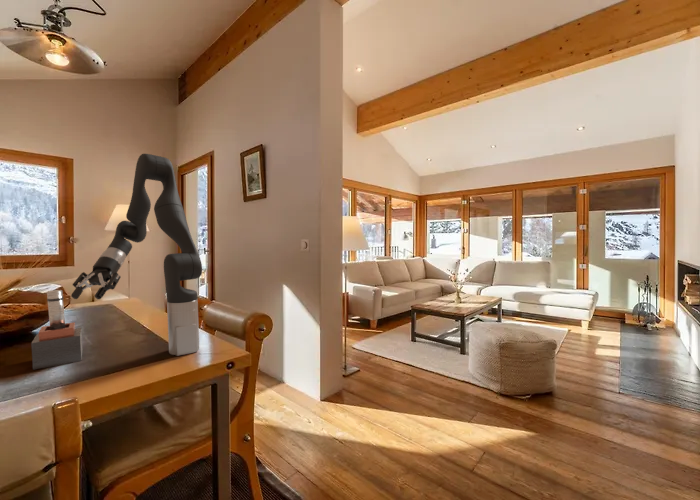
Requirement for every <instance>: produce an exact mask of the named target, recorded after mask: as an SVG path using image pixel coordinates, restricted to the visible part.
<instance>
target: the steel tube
mask: <svg viewBox="0 0 700 500" xmlns="http://www.w3.org/2000/svg"><path fill="white" fill-rule="evenodd" d="M63 293H64V292H63V289H56V290H55V289H53V290H48V291H46V295H47V298H46V300H47V301H46V302H47V309H48V318H49V319H48V321H49V326H50V330H54V329H62V328H65V324H66V318H65V306H64V305H65V304H64V295H63Z"/></svg>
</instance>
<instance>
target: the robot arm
mask: <svg viewBox="0 0 700 500" xmlns="http://www.w3.org/2000/svg"><path fill="white" fill-rule="evenodd" d="M175 175H176V174H175V171H174V166H173V163H172V161H171V160H170V159H169V158H167V157H164V156H160V155H154V154H151V153H141V154H140V155H139V156H138V159H137V161H136V166H135V170H134V177H133V178H134V179H133V186H132V194H131V198H130V199H131V200H130V202H129V205H128V208H127V212H126V216H125V218H126V219H127V220H122V221H120V222H118V224H117V226H116V229H115V234H114V236H113V239H112V241H111V242H110V244H109V245H108V246H107V248H106V249H105V250H104V251H103V252H102V254H101V255H100V256H99V257H98V259H97V260H96V262H94V264H93V266H92V271H91V272H89V273H86V272H84V271H83V272H81V273H80V275H79V276H78V277H77V278H76V279H75V281H74V282H73V283H72V286H73V287H74V290H73V292H72V293H71V296H70V297H71V298H72V299H74V300H78V299H79V298H80V297H81V295H82V294H83V292H84V291H85V290H86V289H88V288H91V287H93V286H101V287H99V288H98V290H97V291H96V293H95V294H94V298H96V300H101V299H102V298H103V297H104V295H106V292H107V291H109V290H112V291H113V290H115V288H116V287H117V285H118V283H119V281H120V279H121V275H120V274H119V273H118V272H119V270H120V269H121V267H122V265H123V264H124V263H125V260H126V258H127V257H128V256H129V254H130V252H131V251H132V249H133V244H132V243H131V242H134V243H142V242H143V241H144V240H145V239H146V237H147V232H148V231H147V221H148V216H149V214H150V211H151V208H152V207H151V206H152V204H151V203H152V202H151V199H150V197H149V194H148V192H147V190H146V186H145V185H146V181H147V180H149V181H157V182H161V184H162V187H163V189H162V191H161V194H160V195H159V197H157V199H156V202H155V204H154V205H153V206H154V208H153V211H154V215H155V219H156V222H157V225H158V227H159V229H160V230H161V231H163V232H164V234H165V235H167V237H169V238H170V239H171V240H173V241H174V242H175V244H176V245H177V246H178V247H179V249H180V251H181V252H178V253H169V254H166V256H165V257H164V260H163V274H164V285H165V294H166V305H167V306H166V307H167V309H166V310H167V311H166V312H167V314H166V315H167V335H168V337H167V338H168V353H169V354H170V355H172V356H174V355H175V356H177V357H178V356H184V355H188V354H192V353H197V352H198V350H200V334H199V333H200V332H199V331H200V330H199V327H200V326H199V303H198V302H199V299H198V293H197V290H194V289H189V288H186V287H183V286H181V281H182V282H183V281H189V280H196V279H199V278H200V277H201V276H202V273H203V263H202V261H201V257H200V254H199V251H198V250H197V247H196V245H195V242H194V239H193V238H192V235H191V232H190V228H189V225H188V222H187V216H186V213H185V210H184V206H183V204H182V201H181V198H180V194H179V191H178V186H177V181H176V176H175ZM88 282H89V283H88Z"/></svg>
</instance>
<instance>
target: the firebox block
mask: <svg viewBox="0 0 700 500" xmlns="http://www.w3.org/2000/svg"><path fill="white" fill-rule="evenodd" d="M82 336H83V335H82V327H79V328H76V322H74V321H73V322H67V323H66V322H65V328H62V329H54V330H50V325H45V326H41V327H40V330H39V331H38V333H37V334H36V335H35V336H34V338H33V340H32V341H31V346H30V347H31V359H32V370H33V371H34V370H38V369H39V370H40V369H45V368H50V367H55V366H61V365H65V364H70V363H76V362H81V361H82V359H83V351H84V350H83V337H82Z"/></svg>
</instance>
